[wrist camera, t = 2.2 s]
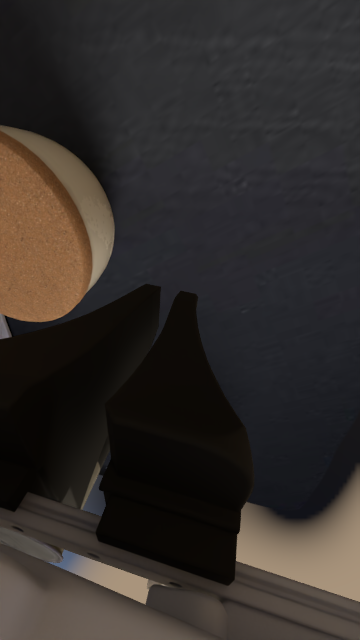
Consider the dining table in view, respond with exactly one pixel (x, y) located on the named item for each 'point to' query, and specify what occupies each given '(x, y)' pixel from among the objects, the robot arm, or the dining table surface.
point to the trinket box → (48, 227)
